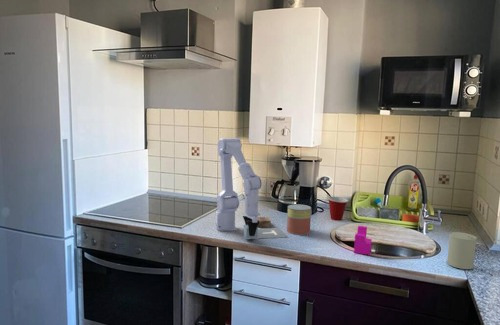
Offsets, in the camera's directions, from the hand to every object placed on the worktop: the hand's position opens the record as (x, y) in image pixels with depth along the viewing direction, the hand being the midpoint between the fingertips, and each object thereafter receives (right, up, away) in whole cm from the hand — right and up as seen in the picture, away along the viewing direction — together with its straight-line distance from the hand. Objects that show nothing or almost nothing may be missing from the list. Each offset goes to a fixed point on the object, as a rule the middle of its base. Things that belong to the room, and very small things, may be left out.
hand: (250, 233), depth 167 cm
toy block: (+48, -5, -5) cm, 49 cm away
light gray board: (+9, -2, +11) cm, 14 cm away
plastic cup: (+47, 0, +37) cm, 60 cm away
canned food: (+23, -2, +15) cm, 28 cm away
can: (+81, -8, -21) cm, 84 cm away
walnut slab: (+6, 0, +23) cm, 24 cm away
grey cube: (0, -2, 0) cm, 2 cm away
